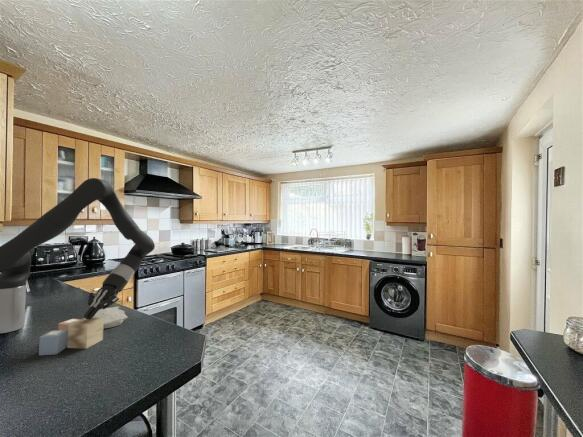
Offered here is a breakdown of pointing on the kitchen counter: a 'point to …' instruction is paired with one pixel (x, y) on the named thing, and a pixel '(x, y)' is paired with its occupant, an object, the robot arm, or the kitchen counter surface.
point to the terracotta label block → (66, 324)
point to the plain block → (85, 333)
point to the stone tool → (111, 316)
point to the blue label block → (53, 342)
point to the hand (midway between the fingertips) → (86, 318)
